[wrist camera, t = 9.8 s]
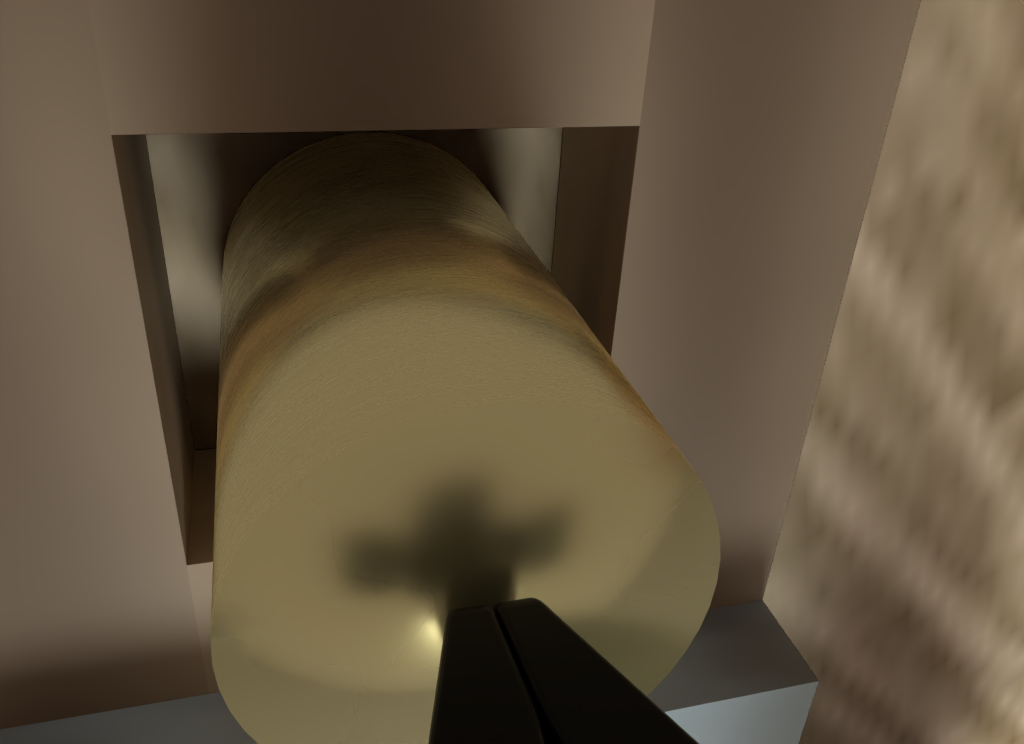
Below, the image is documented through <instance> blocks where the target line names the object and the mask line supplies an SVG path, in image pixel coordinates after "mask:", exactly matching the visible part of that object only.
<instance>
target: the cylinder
mask: <svg viewBox="0 0 1024 744" xmlns="http://www.w3.org/2000/svg"><path fill="white" fill-rule="evenodd" d="M719 566H720V533H719V527H718V522H717V516H716V512H715V510H714V507H713V504H712V502H711V499H710V496H709V494H708V491H707V490H706V488H705V486H704V485H703V483H702V481H701V480H700V478H699V477H698V475H697V473H696V472H695V470H694V469H693V467H692V466H691V465H690V463H689V462H688V461H687V459H686V458H685V457H684V455H683V454H682V453H681V451H680V450H679V448H678V447H677V446H676V444H675V443H674V442H673V440H672V439H671V438H670V436H669V435H668V434H667V432H666V431H665V429H664V428H663V427H662V425H661V424H660V423H659V421H658V420H657V419H656V417H655V416H654V415H653V413H652V412H651V410H650V409H649V408H648V406H647V405H646V404H645V402H644V401H643V400H642V398H641V397H640V396H639V394H638V393H637V392H636V390H635V389H634V387H633V386H632V385H631V383H630V382H629V381H628V379H627V378H626V377H625V375H624V374H623V373H622V371H621V370H620V368H619V367H618V366H617V364H616V363H615V362H614V360H613V359H612V358H611V356H610V355H609V354H608V352H607V351H606V349H605V348H604V347H603V345H602V344H601V343H600V341H599V340H598V339H597V337H596V336H595V335H594V333H593V332H592V330H591V329H590V328H589V326H588V325H587V324H586V322H585V321H584V320H583V318H582V317H581V316H580V314H579V313H578V311H577V310H576V309H575V307H574V306H573V305H572V303H571V302H570V301H569V299H568V298H567V297H566V295H565V294H564V293H563V291H562V290H561V288H560V287H559V286H558V284H557V283H556V282H555V280H554V279H553V278H552V276H551V275H550V274H549V272H548V271H547V269H546V268H545V267H544V265H543V264H542V263H541V261H540V260H539V259H538V257H537V256H536V255H535V253H534V252H533V250H532V249H531V248H530V246H529V245H528V244H527V242H526V241H525V240H524V238H523V237H522V236H521V234H520V233H519V231H518V230H517V229H516V227H515V226H514V225H513V223H512V222H511V221H510V219H509V218H508V217H507V215H506V214H505V212H504V211H503V210H502V208H501V207H500V206H499V204H498V203H497V202H496V200H495V199H494V198H493V196H492V195H491V194H490V192H489V191H488V189H487V188H486V187H485V186H484V184H483V183H482V182H481V181H480V180H479V179H478V177H477V176H476V175H475V174H474V173H473V172H472V171H471V170H470V169H468V168H467V167H466V166H465V165H464V164H463V163H462V162H460V161H459V160H457V159H456V158H454V157H453V156H451V155H450V154H448V153H447V152H445V151H443V150H441V149H439V148H437V147H435V146H433V145H431V144H429V143H427V142H424V141H420V140H417V139H414V138H411V137H408V136H402V135H397V134H391V133H377V132H364V133H351V134H345V135H340V136H335V137H331V138H327V139H324V140H321V141H319V142H316V143H313V144H310V145H308V146H306V147H304V148H302V149H300V150H298V151H296V152H294V153H292V154H290V155H289V156H287V157H286V158H285V159H283V160H282V161H280V162H279V163H277V164H276V165H275V166H273V167H272V168H271V169H270V170H269V171H268V172H267V173H266V174H265V175H264V176H263V177H261V178H260V179H259V180H258V182H257V183H256V184H255V185H254V187H253V188H252V189H251V190H250V191H249V193H248V194H247V195H246V197H245V198H244V200H243V202H242V203H241V205H240V207H239V208H238V210H237V212H236V214H235V217H234V219H233V221H232V224H231V226H230V228H229V232H228V236H227V240H226V244H225V248H224V258H223V272H222V302H221V333H220V363H219V393H218V423H217V453H216V483H215V513H214V543H213V573H212V603H211V633H210V640H211V656H212V666H213V670H214V673H215V677H216V681H217V684H218V688H219V691H220V693H221V695H222V697H223V699H224V701H225V703H226V705H227V707H228V709H229V711H230V712H231V714H232V715H233V716H234V718H235V719H236V720H237V722H238V723H239V724H240V725H241V727H242V728H243V729H244V731H245V732H246V733H247V734H248V735H250V736H251V737H252V738H253V739H254V740H255V741H256V742H257V743H258V744H428V741H429V734H430V727H431V720H432V713H433V706H434V699H435V692H436V685H437V678H438V671H439V664H440V657H441V650H442V643H443V636H444V629H445V622H446V617H447V614H448V613H449V612H450V611H451V610H454V609H461V608H467V607H473V606H480V605H488V606H490V607H491V608H492V609H493V607H494V606H495V605H496V604H498V603H500V602H505V601H512V600H518V599H525V598H536V599H539V600H541V601H542V602H543V603H544V604H546V605H547V606H548V607H549V608H550V609H551V610H552V611H553V612H554V613H555V614H557V615H558V616H559V617H560V618H561V619H562V620H563V621H564V622H565V623H567V624H568V625H569V626H570V627H571V628H572V629H573V630H574V631H575V632H576V633H578V634H579V635H580V636H581V637H582V638H583V639H584V640H585V641H586V642H588V643H589V644H590V645H591V646H592V647H593V648H594V649H595V650H596V651H597V652H599V653H600V654H601V655H602V656H603V657H604V658H605V659H606V660H607V661H609V662H610V663H611V664H612V665H613V666H614V667H615V668H616V669H617V670H618V671H620V672H621V673H622V674H623V675H624V676H625V677H626V678H627V679H628V680H630V681H631V682H632V683H633V684H634V685H635V686H636V687H637V688H638V689H639V690H641V691H642V692H643V693H644V694H645V695H646V696H647V695H649V694H650V693H651V692H652V691H653V690H654V689H655V688H656V687H657V685H658V684H659V683H660V682H661V681H662V680H663V679H664V678H665V677H666V676H667V675H668V674H669V673H670V671H671V670H672V669H673V668H674V666H675V665H676V664H677V662H678V661H679V660H680V658H681V657H682V656H683V655H684V653H685V652H686V650H687V649H688V647H689V646H690V644H691V642H692V641H693V639H694V637H695V636H696V634H697V632H698V631H699V629H700V627H701V625H702V622H703V620H704V618H705V616H706V614H707V611H708V609H709V607H710V604H711V601H712V597H713V594H714V591H715V588H716V584H717V579H718V572H719Z"/></svg>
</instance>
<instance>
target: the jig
mask: <svg viewBox="0 0 1024 744" xmlns="http://www.w3.org/2000/svg"><path fill="white" fill-rule="evenodd" d="M920 2H921V0H0V744H258V743H257V742H256V741H255V740H254V739H253V738H252V737H251V736H250V735H248V734H247V733H246V732H245V731H244V729H243V728H242V727H241V725H240V724H239V723H238V722H237V720H236V719H235V718H234V716H233V715H232V714H231V712H230V711H229V709H228V707H227V705H226V703H225V701H224V699H223V697H222V695H221V693H220V691H219V688H218V684H217V681H216V677H215V673H214V670H213V666H212V656H211V640H210V633H211V603H212V573H213V543H214V513H215V483H216V453H217V449H207V450H197V451H195V450H194V444H193V437H192V431H191V424H190V418H189V412H188V405H187V399H186V392H185V386H184V379H183V373H182V367H181V360H180V354H179V347H178V341H177V335H176V328H175V322H174V315H173V309H172V302H171V296H170V290H169V283H168V277H167V270H166V264H165V258H164V251H163V245H162V238H161V232H160V225H159V219H158V213H157V206H156V200H155V193H154V187H153V181H152V174H151V168H150V161H149V155H148V148H147V142H146V136H145V134H196V133H255V132H313V131H372V130H430V129H489V128H547V127H564V129H563V142H562V154H561V166H560V178H559V191H558V203H557V215H556V228H555V240H554V252H553V264H552V278H553V279H554V280H555V282H556V283H557V284H558V286H559V287H560V288H561V290H562V291H563V293H564V294H565V295H566V297H567V298H568V299H569V301H570V302H571V303H572V305H573V306H574V307H575V309H576V310H577V311H578V313H579V314H580V316H581V317H582V318H583V320H584V321H585V322H586V324H587V325H588V326H589V328H590V329H591V330H592V332H593V333H594V335H595V336H596V337H597V339H598V340H599V341H600V343H601V344H602V345H603V347H604V348H605V349H606V351H607V352H608V354H609V355H610V356H611V358H612V359H613V360H614V362H615V363H616V364H617V366H618V367H619V368H620V370H621V371H622V373H623V374H624V375H625V377H626V378H627V379H628V381H629V382H630V383H631V385H632V386H633V387H634V389H635V390H636V392H637V393H638V394H639V396H640V397H641V398H642V400H643V401H644V402H645V404H646V405H647V406H648V408H649V409H650V410H651V412H652V413H653V415H654V416H655V417H656V419H657V420H658V421H659V423H660V424H661V425H662V427H663V428H664V429H665V431H666V432H667V434H668V435H669V436H670V438H671V439H672V440H673V442H674V443H675V444H676V446H677V447H678V448H679V450H680V451H681V453H682V454H683V455H684V457H685V458H686V459H687V461H688V462H689V463H690V465H691V466H692V467H693V469H694V470H695V472H696V473H697V475H698V477H699V478H700V480H701V481H702V483H703V485H704V486H705V488H706V490H707V491H708V494H709V496H710V499H711V502H712V504H713V507H714V510H715V512H716V516H717V522H718V527H719V533H720V566H719V572H718V579H717V584H716V588H715V591H714V594H713V597H712V601H711V604H710V607H709V609H708V611H707V614H706V616H705V618H704V620H703V622H702V625H701V627H700V629H699V631H698V632H697V634H696V636H695V637H694V639H693V641H692V642H691V644H690V646H689V647H688V649H687V650H686V652H685V653H684V655H683V656H682V657H681V658H680V660H679V661H678V662H677V664H676V665H675V666H674V668H673V669H672V670H671V671H670V673H669V674H668V675H667V676H666V677H665V678H664V679H663V680H662V681H661V682H660V683H659V684H658V685H657V687H656V688H655V689H654V690H653V691H652V692H651V693H650V694H649V695H647V697H648V698H649V699H651V700H652V701H653V702H654V703H655V704H656V705H657V706H658V707H659V708H660V709H662V710H663V711H664V712H665V713H666V714H667V715H668V716H669V717H670V718H672V719H673V720H674V721H675V722H676V723H677V724H678V725H679V726H680V727H681V728H683V729H684V730H685V731H686V732H687V733H688V734H689V735H690V736H691V737H693V738H694V739H695V740H696V741H697V742H698V743H699V744H799V741H800V737H801V734H802V731H803V728H804V725H805V722H806V719H807V716H808V713H809V710H810V707H811V704H812V701H813V698H814V695H815V692H816V689H817V686H818V683H819V680H818V679H817V677H816V676H815V675H814V673H813V672H812V670H811V669H810V667H809V666H808V665H807V663H806V662H805V660H804V659H803V657H802V656H801V655H800V653H799V652H798V650H797V649H796V647H795V646H794V645H793V643H792V642H791V640H790V639H789V637H788V636H787V635H786V633H785V632H784V630H783V629H782V627H781V626H780V625H779V623H778V622H777V620H776V619H775V617H774V616H773V615H772V613H771V612H770V610H769V609H768V607H767V606H766V605H765V603H764V602H763V600H762V599H763V595H764V591H765V588H766V584H767V580H768V576H769V572H770V569H771V565H772V561H773V557H774V554H775V550H776V546H777V542H778V538H779V535H780V531H781V527H782V523H783V520H784V516H785V512H786V508H787V504H788V501H789V497H790V493H791V489H792V486H793V482H794V478H795V474H796V470H797V467H798V463H799V459H800V455H801V452H802V448H803V444H804V440H805V436H806V433H807V429H808V425H809V421H810V418H811V414H812V410H813V406H814V402H815V399H816V395H817V391H818V387H819V384H820V380H821V376H822V372H823V368H824V365H825V361H826V357H827V353H828V350H829V346H830V342H831V338H832V334H833V331H834V327H835V323H836V319H837V316H838V312H839V308H840V304H841V300H842V297H843V293H844V289H845V285H846V281H847V278H848V274H849V270H850V266H851V263H852V259H853V255H854V251H855V247H856V244H857V240H858V236H859V232H860V229H861V225H862V221H863V217H864V213H865V210H866V206H867V202H868V198H869V195H870V191H871V187H872V183H873V179H874V176H875V172H876V168H877V164H878V161H879V157H880V153H881V149H882V145H883V142H884V138H885V134H886V130H887V127H888V123H889V119H890V115H891V111H892V108H893V104H894V100H895V96H896V93H897V89H898V85H899V81H900V77H901V74H902V70H903V66H904V62H905V59H906V55H907V51H908V47H909V43H910V40H911V36H912V32H913V28H914V25H915V21H916V17H917V13H918V9H919V6H920Z"/></svg>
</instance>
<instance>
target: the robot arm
mask: <svg viewBox="0 0 1024 744" xmlns="http://www.w3.org/2000/svg"><path fill="white" fill-rule="evenodd" d="M428 744H699V743H698V742H697V741H696V740H695V739H694V738H693V737H691V736H690V735H689V734H688V733H687V732H686V731H685V730H684V729H683V728H681V727H680V726H679V725H678V724H677V723H676V722H675V721H674V720H673V719H672V718H670V717H669V716H668V715H667V714H666V713H665V712H664V711H663V710H662V709H660V708H659V707H658V706H657V705H656V704H655V703H654V702H653V701H652V700H651V699H649V698H648V697H647V696H646V695H645V694H644V693H643V692H642V691H641V690H639V689H638V688H637V687H636V686H635V685H634V684H633V683H632V682H631V681H630V680H628V679H627V678H626V677H625V676H624V675H623V674H622V673H621V672H620V671H618V670H617V669H616V668H615V667H614V666H613V665H612V664H611V663H610V662H609V661H607V660H606V659H605V658H604V657H603V656H602V655H601V654H600V653H599V652H597V651H596V650H595V649H594V648H593V647H592V646H591V645H590V644H589V643H588V642H586V641H585V640H584V639H583V638H582V637H581V636H580V635H579V634H578V633H576V632H575V631H574V630H573V629H572V628H571V627H570V626H569V625H568V624H567V623H565V622H564V621H563V620H562V619H561V618H560V617H559V616H558V615H557V614H555V613H554V612H553V611H552V610H551V609H550V608H549V607H548V606H547V605H546V604H544V603H543V602H542V601H541V600H539V599H536V598H525V599H518V600H512V601H505V602H500V603H498V604H496V605H495V606H494V607H493V609H492V608H491V607H490V606H488V605H480V606H473V607H467V608H461V609H454V610H451V611H450V612H449V613H448V614H447V617H446V622H445V629H444V636H443V643H442V650H441V657H440V664H439V671H438V678H437V685H436V692H435V699H434V706H433V713H432V720H431V727H430V734H429V741H428Z"/></svg>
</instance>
